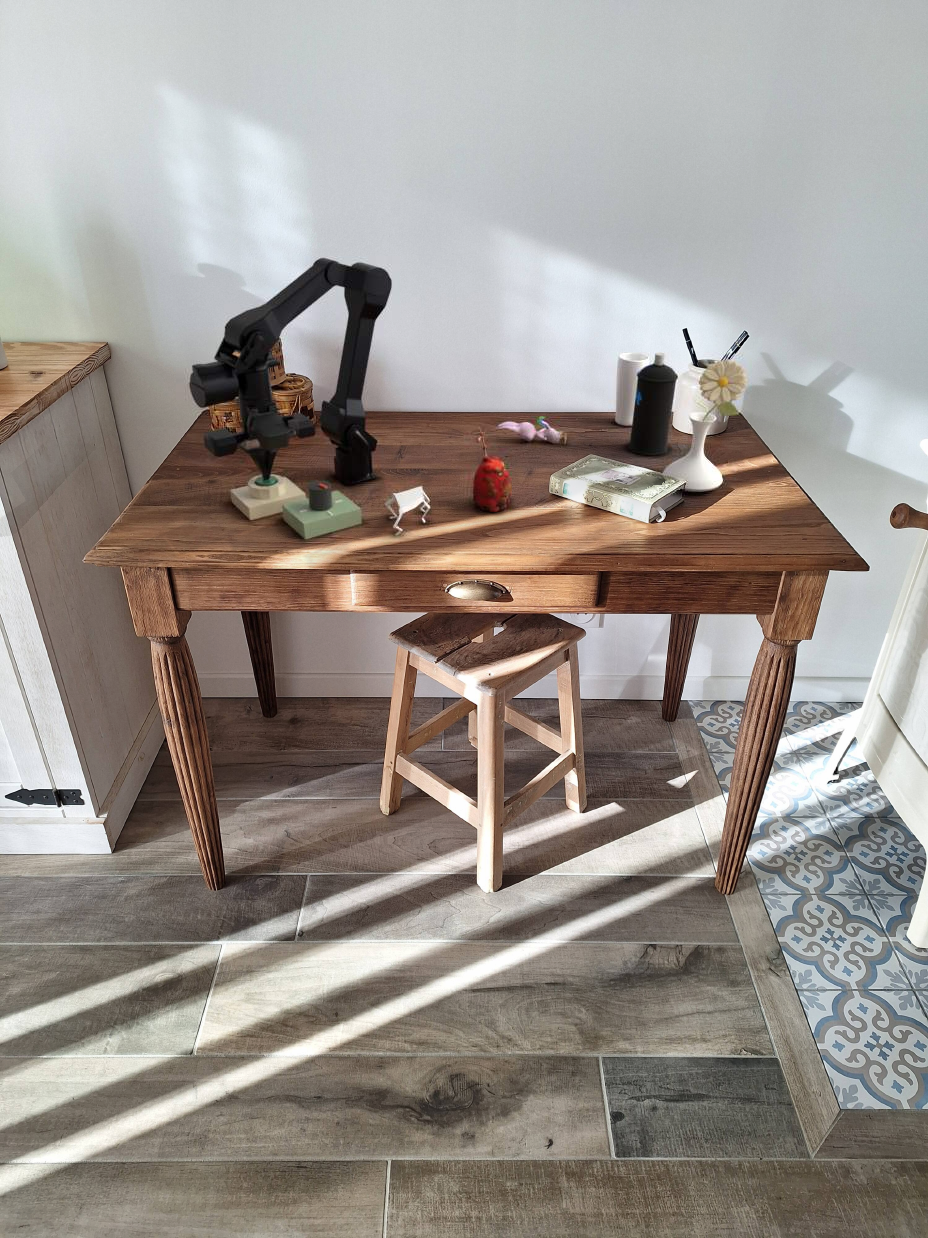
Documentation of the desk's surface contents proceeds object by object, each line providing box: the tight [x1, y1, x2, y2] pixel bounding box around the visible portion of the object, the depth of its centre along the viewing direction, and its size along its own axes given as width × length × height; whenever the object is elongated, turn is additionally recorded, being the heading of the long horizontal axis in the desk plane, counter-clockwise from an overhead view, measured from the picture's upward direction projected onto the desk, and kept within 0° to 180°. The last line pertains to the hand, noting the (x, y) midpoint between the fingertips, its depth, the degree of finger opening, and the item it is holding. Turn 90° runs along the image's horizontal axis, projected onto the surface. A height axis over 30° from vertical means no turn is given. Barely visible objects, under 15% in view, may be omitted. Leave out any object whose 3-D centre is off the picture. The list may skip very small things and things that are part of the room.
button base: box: [229, 473, 307, 521], centre depth 156 cm, size 11×9×4 cm
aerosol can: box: [627, 352, 679, 457], centre depth 175 cm, size 8×8×20 cm
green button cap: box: [256, 475, 277, 486], centre depth 155 cm, size 4×4×2 cm
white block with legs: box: [384, 485, 431, 536], centre depth 149 cm, size 12×8×5 cm
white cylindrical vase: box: [614, 352, 650, 427], centre depth 190 cm, size 7×7×15 cm
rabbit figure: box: [497, 416, 568, 445], centre depth 182 cm, size 6×6×15 cm
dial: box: [307, 480, 333, 511], centre depth 148 cm, size 4×4×4 cm
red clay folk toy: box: [472, 426, 512, 513], centre depth 153 cm, size 8×7×15 cm
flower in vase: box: [662, 358, 748, 493], centre depth 158 cm, size 13×11×25 cm
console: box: [282, 490, 363, 540], centre depth 150 cm, size 11×9×3 cm
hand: (266, 478), depth 154 cm, fingers closed, pressing on green button cap
